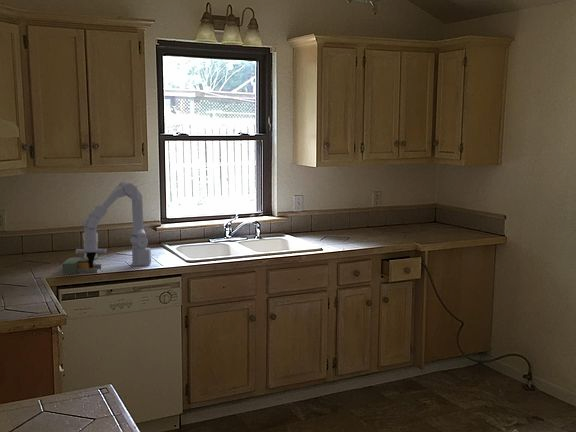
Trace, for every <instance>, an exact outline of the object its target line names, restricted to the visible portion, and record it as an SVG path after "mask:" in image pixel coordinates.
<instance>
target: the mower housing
mask: <svg viewBox="0 0 576 432" xmlns="http://www.w3.org/2000/svg"><path fill="white" fill-rule="evenodd" d="M82 259H83V257H69V258H68V259H66V260H65V261H63V262H62V263H61V267H62V269H61V271H62V273H67V274H66V275H73V274H72V273H75V274H78V273H79V274H80V273H81V274H92V273H93V274H97V273H98V269H100V270H101V269H102V264H100V263H93V264H94V267H93V268H79V266H78V261H80V260H82Z"/></svg>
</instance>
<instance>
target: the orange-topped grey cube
mask: <svg viewBox="0 0 576 432" xmlns="http://www.w3.org/2000/svg"><path fill="white" fill-rule="evenodd" d="M78 266H79V268H90V261H89V259H84V258H82V260H80V261H78Z"/></svg>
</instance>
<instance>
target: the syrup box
mask: <svg viewBox="0 0 576 432" xmlns="http://www.w3.org/2000/svg"><path fill="white" fill-rule="evenodd" d="M82 249H85V233H84V232H83V233H82ZM97 249H99V233H98V232H97ZM82 254H83V256H82V259H88V258H87V256H86V255H87V253H82ZM97 259H99V253H96V255H95V258H94V260H97Z"/></svg>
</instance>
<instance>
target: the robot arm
mask: <svg viewBox="0 0 576 432" xmlns="http://www.w3.org/2000/svg"><path fill="white" fill-rule="evenodd" d="M126 196H127V197H128V198H129V199H130V200H131V210H132V212H131V213H132V230H131V235H130V239H129V242H130V244H131V245H132V246H131V260H132V262H131V264H130V266H131V267H133V266H135V267H139V266H140V267H143V266H145V267H147V266H150V265H151V263H152V257H151V256H152V254H151V253H152V252H151V247H147V246H148V245H149V240H148V238H147V234H146V231H145V228H144V210H143V205H144V204H143V195H142V193H141V192H140V190H139V188H138V186H137V185H135V184H134V183H132V182H127V181H121V182H119V184H118V185H116V186H115V188H114V190H112V192H111V193H110V194H109V195H108V197H107V198H106V199H105V200H104V202H103V203H102V204H98V205H95V206H94V209H93V210H92V211H91V212H90V213H88V214H87V215H88V216H85V217H84V218H83V220H82V222H81V223H82V226H83V228H84V232H83V233H85V249H83V248H76V249H75V254H76V255H77V254H83V253H87V255H86V256H87V258H88V259H89V261H90V268H93V267H94V264H95V263H94V261H95V259H94V258H95V255H96V253H98V254H107V248H98V249H97V233H98V232H97V227H99V223H100V221H101V220H102V219H103V218H104V217H105V216H106V214H107V213H108V209H109V208H110V207H111V206H112V205H113V204H114V203H115V202H116V201H117V200H118V199H119V198H123V197H126Z"/></svg>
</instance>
